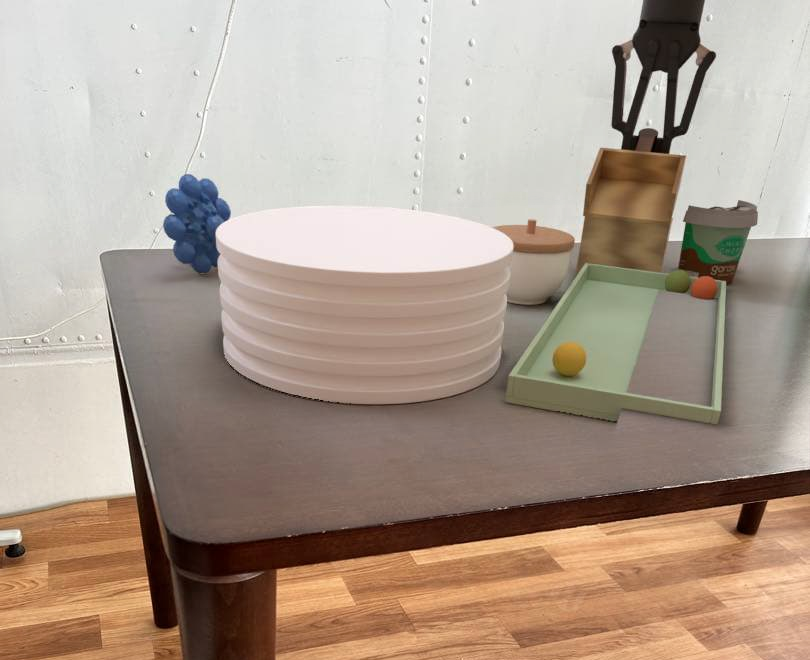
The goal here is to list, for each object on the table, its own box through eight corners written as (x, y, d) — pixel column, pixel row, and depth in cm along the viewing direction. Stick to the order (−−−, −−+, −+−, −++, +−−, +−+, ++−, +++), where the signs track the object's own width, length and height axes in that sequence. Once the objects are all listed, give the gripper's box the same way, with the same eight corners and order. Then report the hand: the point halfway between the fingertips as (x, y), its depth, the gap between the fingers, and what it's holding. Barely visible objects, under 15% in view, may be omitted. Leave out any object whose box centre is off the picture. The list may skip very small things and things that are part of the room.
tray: (721, 301, 107) (726, 281, 105) (713, 439, 69) (721, 411, 68) (582, 282, 111) (585, 262, 110) (504, 402, 74) (508, 375, 73)
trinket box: (517, 315, 97) (527, 232, 92) (463, 291, 104) (469, 214, 99) (582, 304, 102) (596, 225, 97) (526, 282, 109) (536, 208, 104)
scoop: (685, 164, 113) (692, 131, 110) (669, 226, 105) (676, 193, 101) (604, 156, 116) (608, 124, 112) (582, 216, 108) (586, 183, 104)
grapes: (198, 289, 99) (189, 183, 93) (156, 279, 102) (145, 175, 95) (258, 270, 108) (253, 172, 102) (218, 261, 111) (211, 165, 104)
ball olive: (688, 294, 106) (692, 268, 105) (688, 298, 104) (692, 272, 102) (663, 292, 107) (666, 267, 106) (662, 297, 105) (666, 271, 103)
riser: (660, 277, 116) (673, 217, 112) (657, 287, 111) (670, 225, 107) (581, 266, 119) (591, 208, 114) (575, 276, 114) (584, 215, 109)
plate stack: (556, 378, 80) (575, 257, 73) (289, 425, 67) (285, 284, 61) (413, 300, 100) (419, 200, 94) (188, 325, 88) (177, 212, 81)
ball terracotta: (710, 303, 105) (724, 297, 102) (687, 307, 104) (702, 301, 101) (706, 277, 104) (720, 271, 101) (683, 281, 104) (698, 275, 101)
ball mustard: (591, 338, 78) (585, 356, 76) (587, 366, 80) (580, 385, 78) (557, 333, 78) (550, 350, 76) (554, 361, 81) (547, 379, 79)
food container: (706, 292, 110) (725, 214, 105) (669, 281, 114) (686, 205, 109) (759, 282, 116) (780, 207, 111) (722, 271, 120) (741, 199, 115)
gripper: (609, -18, 101) (577, 186, 113) (742, -13, 97) (694, 199, 109) (616, -15, 107) (585, 179, 119) (742, -9, 103) (696, 191, 115)
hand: (638, 188), depth 114 cm, fingers closed on scoop, 3 cm apart
